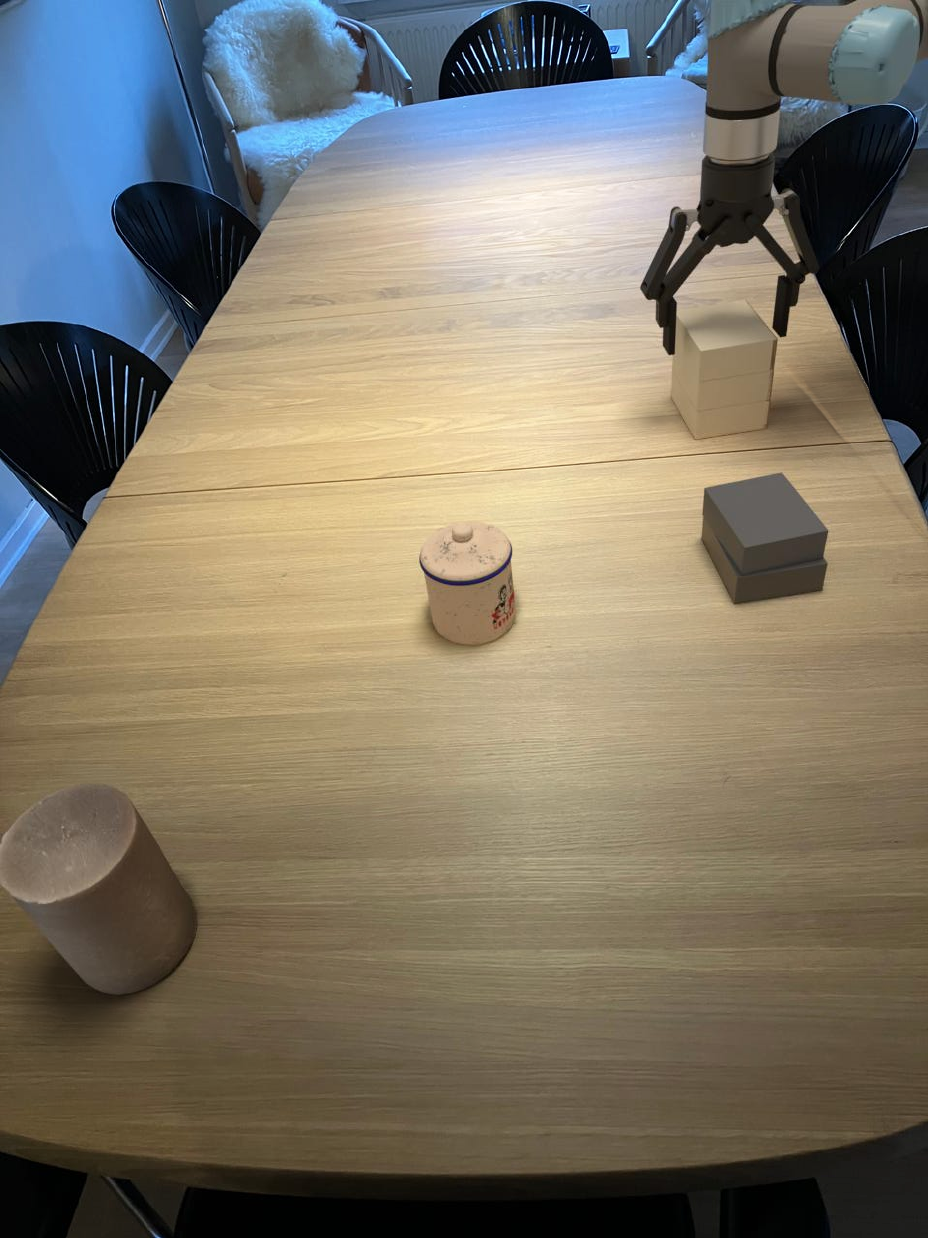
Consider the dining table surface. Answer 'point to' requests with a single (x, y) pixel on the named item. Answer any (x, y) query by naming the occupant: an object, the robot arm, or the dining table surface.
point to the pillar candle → (98, 887)
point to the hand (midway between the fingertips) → (723, 341)
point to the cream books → (720, 401)
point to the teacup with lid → (469, 582)
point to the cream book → (724, 340)
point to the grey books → (763, 538)
